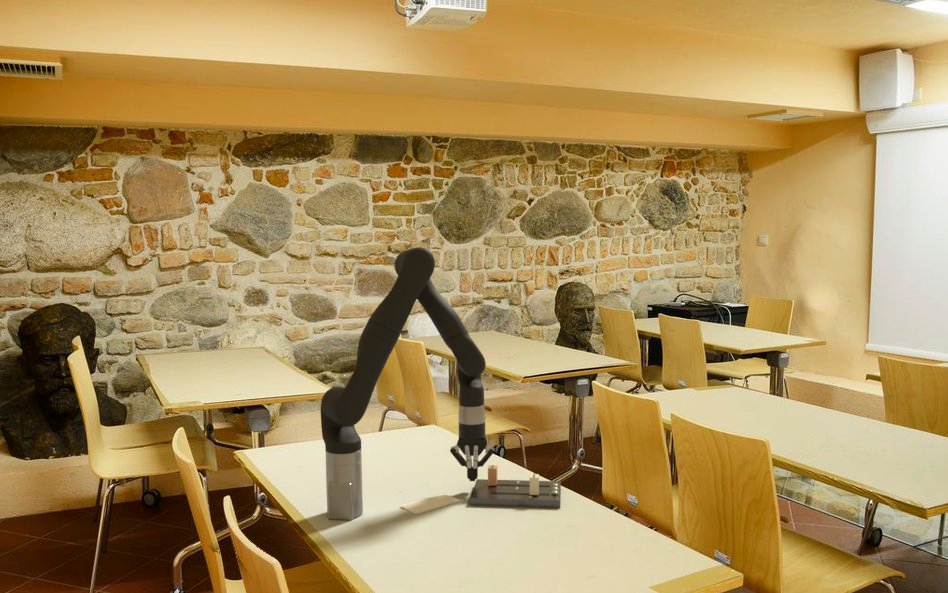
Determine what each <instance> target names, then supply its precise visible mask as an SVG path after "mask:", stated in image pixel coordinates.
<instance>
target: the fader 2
mask: <svg viewBox="0 0 948 593" xmlns="http://www.w3.org/2000/svg"><path fill="white" fill-rule="evenodd" d="M529 481H530V495H539V481H540V474H539V473H536V474H535V473H530V474H529Z"/></svg>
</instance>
